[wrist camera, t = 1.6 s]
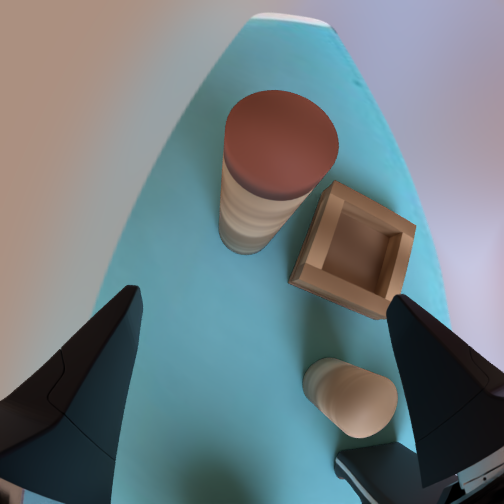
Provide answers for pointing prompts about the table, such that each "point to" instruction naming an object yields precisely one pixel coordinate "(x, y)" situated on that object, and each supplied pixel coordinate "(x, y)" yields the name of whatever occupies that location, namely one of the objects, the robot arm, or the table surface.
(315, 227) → the light brown square frame
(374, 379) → the short pin
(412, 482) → the battery charger
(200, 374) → the table surface
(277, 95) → the long pin
